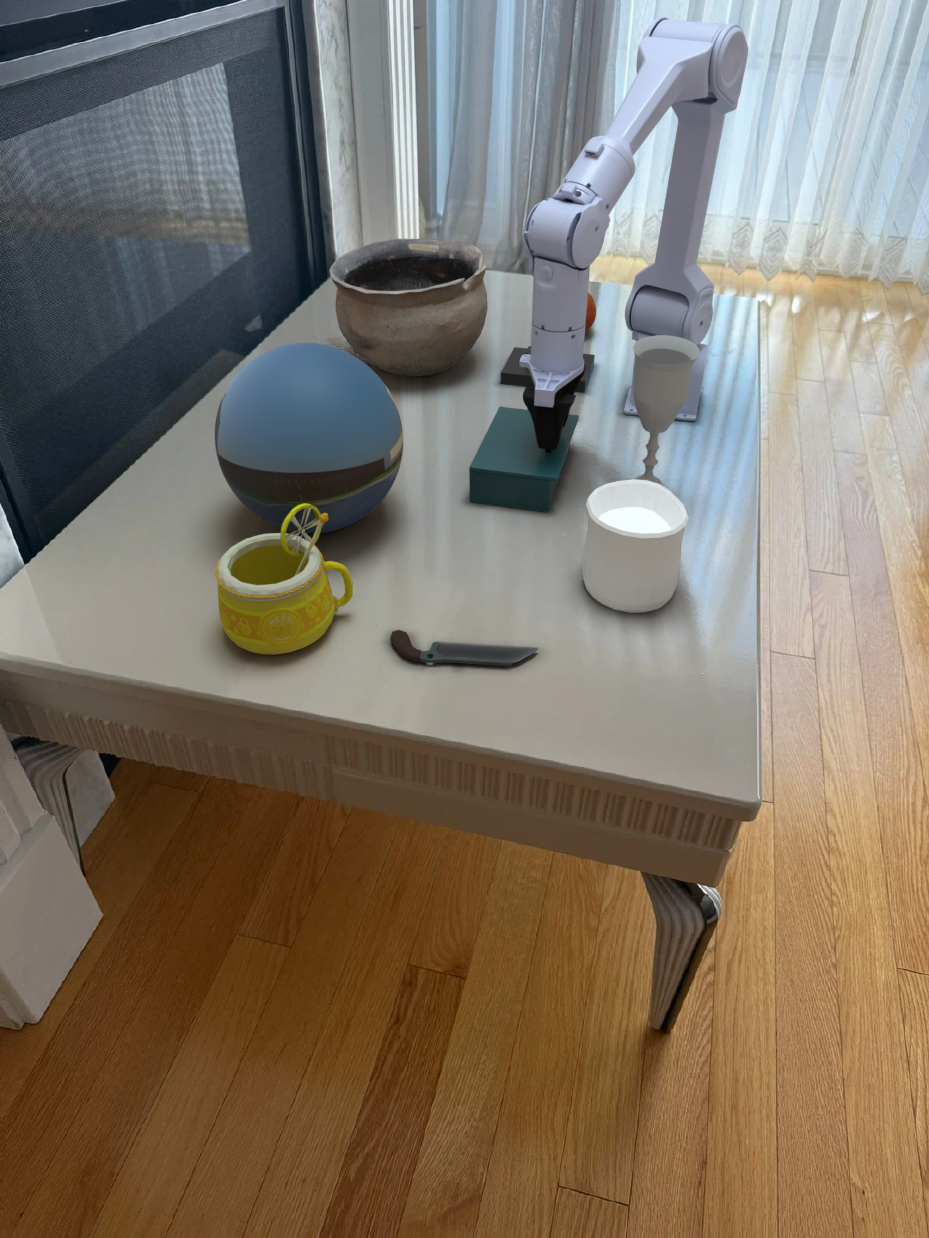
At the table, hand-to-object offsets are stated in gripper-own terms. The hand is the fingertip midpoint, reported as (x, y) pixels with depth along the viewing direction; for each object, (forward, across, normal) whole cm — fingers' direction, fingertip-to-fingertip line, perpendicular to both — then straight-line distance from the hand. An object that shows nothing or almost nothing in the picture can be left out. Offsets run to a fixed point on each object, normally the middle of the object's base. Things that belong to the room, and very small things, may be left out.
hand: (552, 436), depth 105 cm
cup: (+6, +19, +12) cm, 23 cm away
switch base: (+6, -28, -5) cm, 29 cm away
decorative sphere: (+6, +15, -23) cm, 28 cm away
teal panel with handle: (+1, 0, -3) cm, 3 cm away
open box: (+6, 0, -3) cm, 6 cm away
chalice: (+6, +2, +12) cm, 13 cm away
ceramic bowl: (+6, -27, -25) cm, 38 cm away
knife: (+6, +33, -2) cm, 34 cm away
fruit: (+6, -43, -4) cm, 44 cm away
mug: (+6, +33, -19) cm, 39 cm away
